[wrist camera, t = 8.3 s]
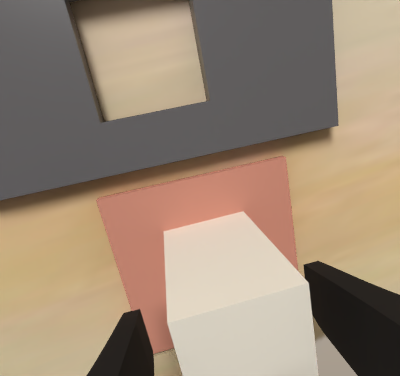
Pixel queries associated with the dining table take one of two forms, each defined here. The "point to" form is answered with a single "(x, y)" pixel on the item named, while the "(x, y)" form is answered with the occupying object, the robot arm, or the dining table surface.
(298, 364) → the plug
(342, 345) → the robot arm
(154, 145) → the board
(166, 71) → the dining table surface
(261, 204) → the mat
